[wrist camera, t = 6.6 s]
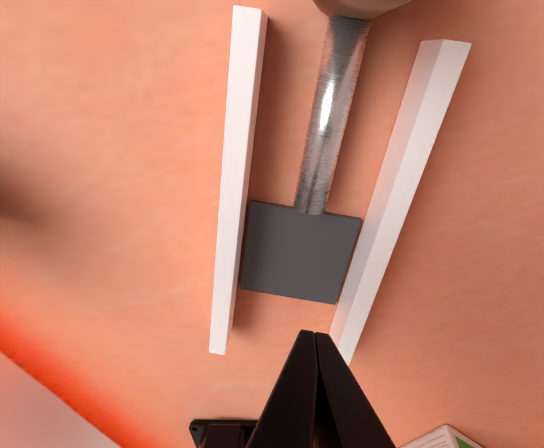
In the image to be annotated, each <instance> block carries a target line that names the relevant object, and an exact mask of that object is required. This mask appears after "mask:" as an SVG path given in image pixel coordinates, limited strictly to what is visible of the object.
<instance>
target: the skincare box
mask: <svg viewBox="0 0 544 448" xmlns="http://www.w3.org/2000/svg"><path fill="white" fill-rule="evenodd" d="M400 448H483V447H481V446H480V445H478V444H477V443H475V442H473V441H472V440H470V439H469V438H467V437H466V436H464V435H463V434H461V433H460V432H458V431H457V430H455V429H454V428H452V427H451V426H449V425H447V424H445V425H443V426H441V427H439V428H437V429H435V430H433V431H431V432H429V433H427V434H425V435H423V436H422V437H420V438H418V439H416V440H414V441H412V442H410V443H408V444H406V445H404V446H402V447H400Z"/></svg>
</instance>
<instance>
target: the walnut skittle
mask: <svg viewBox="0 0 544 448" xmlns="http://www.w3.org/2000/svg"><path fill="white" fill-rule="evenodd" d="M313 1H314V2H315V4H316V5H317V6H318V8H319V9H320V10H321V11H322V12H324V13H325V14H326V15H327V16H329V17H330V16H337V17H347V18H354V19H359V20H364V21H369V20H372V19H375V18H377V17H379V16H381V15H383V14H385V13H387V12H389V11H391V10H394V9H396V8H398V7H400V6H402V5H404V4H406V3H408V2H411V1H413V0H313Z"/></svg>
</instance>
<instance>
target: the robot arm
mask: <svg viewBox="0 0 544 448" xmlns="http://www.w3.org/2000/svg"><path fill="white" fill-rule="evenodd" d="M189 430H190V433H191V435H192V438H193V440H194V443H195V445H196V448H396V447H395V445H394V443H393V441H392V440H391V438H390V436H389V435H388V433H387V431H386V430H385V428H384V426H383V425H382V423H381V421H380V419H379V418H378V416H377V414H376V413H375V411H374V409H373V408H372V406H371V404H370V403H369V401H368V399H367V398H366V396H365V394H364V392H363V391H362V389H361V387H360V386H359V384H358V382H357V381H356V379H355V377H354V376H353V374H352V372H351V370H350V369H349V367H348V365H347V364H346V362H345V360H344V359H343V357H342V355H341V354H340V352H339V350H338V348H337V347H336V345H335V343H334V342H333V340H332V338H331V337H330V335H329V334H325V333H319V332H316V333H315V334H314V332H313V331H307V330H300V332H299V334H298V336H297V338H296V340H295V343H294V345H293V347H292V349H291V351H290V353H289V356H288V358H287V360H286V362H285V364H284V366H283V369H282V371H281V373H280V375H279V377H278V379H277V382H276V384H275V386H274V388H273V390H272V392H271V395H270V397H269V399H268V401H267V403H266V405H265V408H264V410H263V412H262V414H261V416H260V418H259V421H192V422H191V423H190V426H189Z"/></svg>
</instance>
